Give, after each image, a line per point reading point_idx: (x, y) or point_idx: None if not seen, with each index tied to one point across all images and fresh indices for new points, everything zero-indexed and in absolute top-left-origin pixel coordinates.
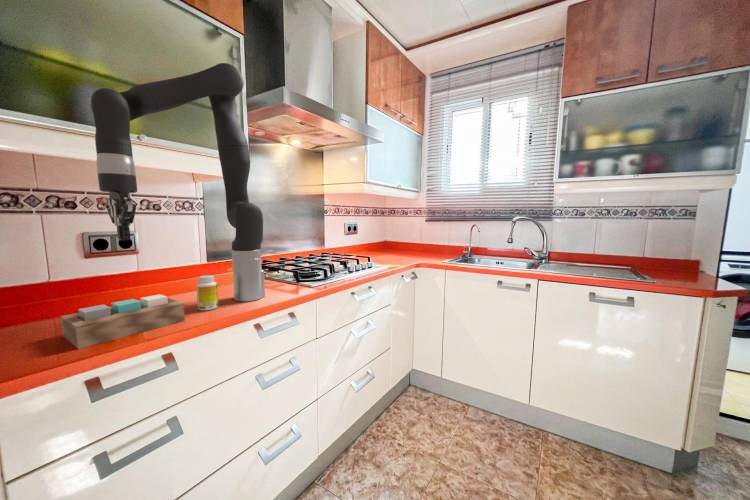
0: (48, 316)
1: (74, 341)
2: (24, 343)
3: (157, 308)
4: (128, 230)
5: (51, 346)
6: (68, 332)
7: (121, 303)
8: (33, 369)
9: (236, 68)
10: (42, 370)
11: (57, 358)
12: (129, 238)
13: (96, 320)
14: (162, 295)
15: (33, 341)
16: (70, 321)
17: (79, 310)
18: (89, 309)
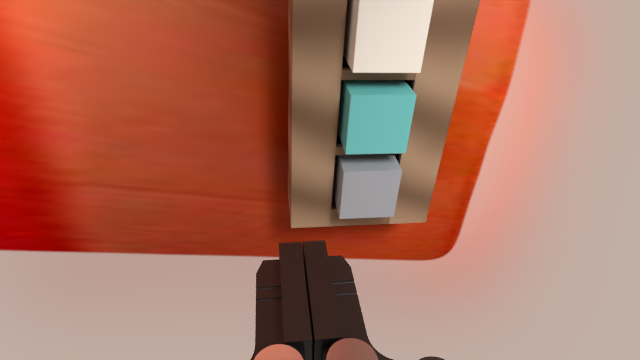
0: (18, 188)
1: None
2: (269, 239)
3: (461, 54)
4: (360, 309)
5: None
6: None
7: (382, 139)
8: (437, 240)
9: None
10: (455, 233)
11: None
12: (323, 247)
13: (417, 190)
14: (394, 1)
15: (269, 229)
16: (367, 222)
17: (347, 216)
18: (370, 204)
